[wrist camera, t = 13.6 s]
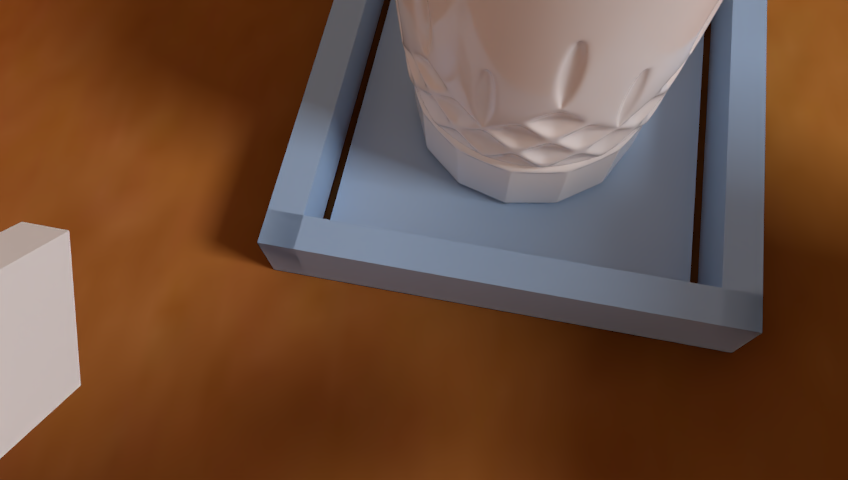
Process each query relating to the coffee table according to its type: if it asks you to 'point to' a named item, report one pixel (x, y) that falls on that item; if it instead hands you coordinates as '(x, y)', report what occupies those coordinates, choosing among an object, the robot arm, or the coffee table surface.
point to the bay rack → (535, 222)
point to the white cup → (542, 85)
